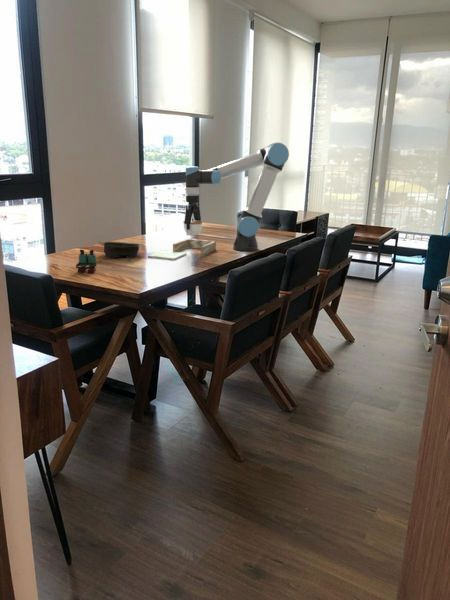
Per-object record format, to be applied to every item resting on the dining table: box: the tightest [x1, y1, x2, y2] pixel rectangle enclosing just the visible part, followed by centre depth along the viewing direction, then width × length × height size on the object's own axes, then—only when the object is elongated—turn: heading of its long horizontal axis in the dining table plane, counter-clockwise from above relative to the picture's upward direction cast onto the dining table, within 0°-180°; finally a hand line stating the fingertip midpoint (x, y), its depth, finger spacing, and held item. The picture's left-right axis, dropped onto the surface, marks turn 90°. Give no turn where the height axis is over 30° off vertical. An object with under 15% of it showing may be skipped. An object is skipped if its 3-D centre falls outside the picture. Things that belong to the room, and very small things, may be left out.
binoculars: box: [75, 249, 98, 274], centre depth 235 cm, size 9×11×10 cm
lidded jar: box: [182, 217, 203, 236], centre depth 283 cm, size 11×11×9 cm
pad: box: [147, 250, 187, 261], centre depth 276 cm, size 16×16×1 cm
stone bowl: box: [98, 241, 145, 259], centre depth 273 cm, size 25×25×9 cm
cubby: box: [172, 238, 217, 257], centre depth 291 cm, size 19×20×5 cm
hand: (193, 233), depth 285 cm, fingers closed on lidded jar, 11 cm apart
